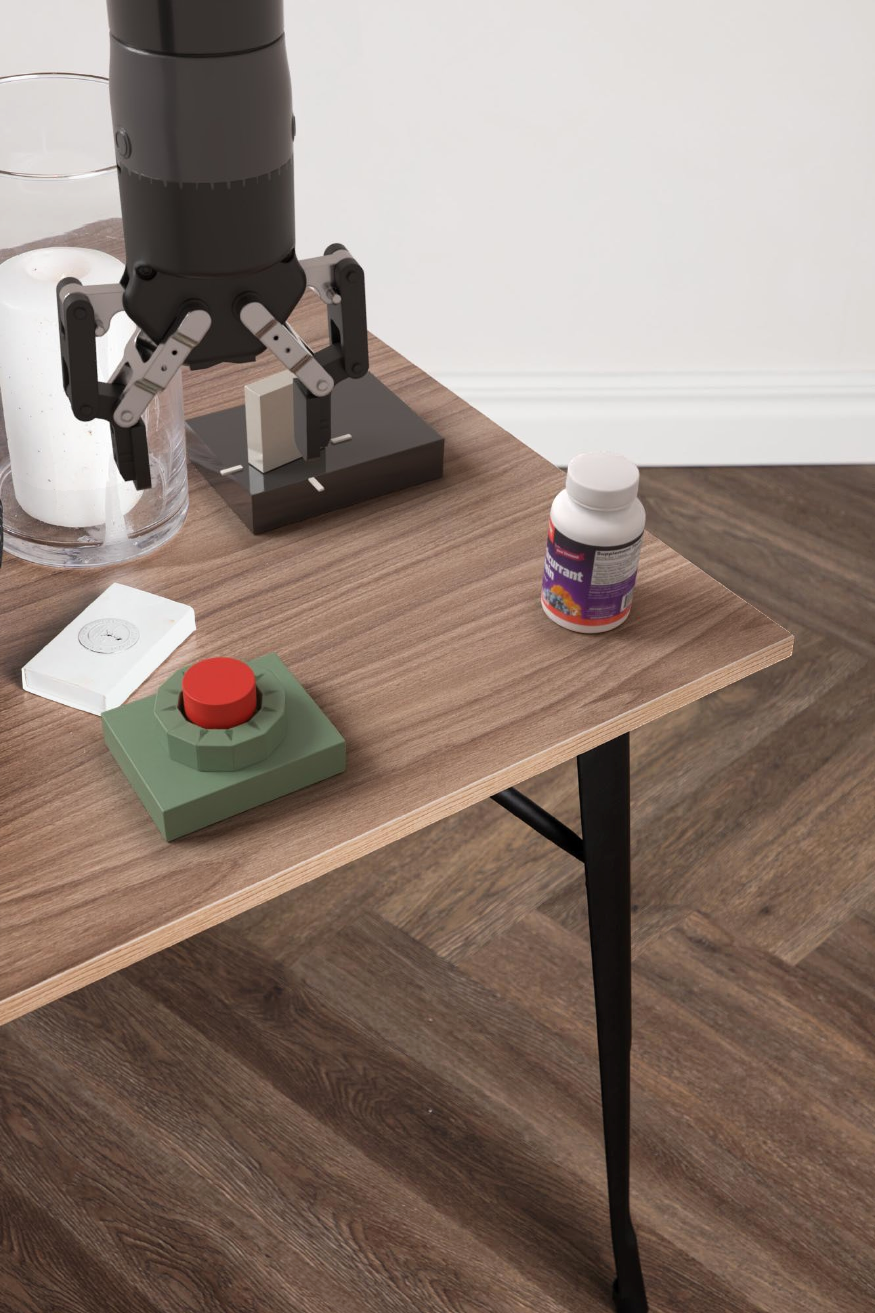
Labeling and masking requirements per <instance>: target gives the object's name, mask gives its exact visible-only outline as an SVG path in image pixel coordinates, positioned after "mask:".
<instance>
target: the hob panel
mask: <svg viewBox="0 0 875 1313" xmlns="http://www.w3.org/2000/svg"><path fill="white" fill-rule="evenodd" d="M184 430H185V441H186V452H187V459H188V460H189V461H190V463H191V464H192V465H193V466H194V468H195V469H196V470H197V471H198V472H199V473H200V474H201V476H202V477H203V478H204V479H205V480H206V481H207V483H208V484H209V485H210V486H211V487H212V488H213V490H214V491H215V492H216V493H217V494H218V495H219V497H220V498H221V499H222V500H223V501H224V502H225V503H226V505H227V506H228V507H229V508H230V509H231V510H232V511H233V513H234V514H235V515H236V516H237V517H238V518H239V519H240V521H241V522H242V524H244V526H246V528H247V529H248V530H249V531H250V532H251V533H252V534H253V536H254V535H258V534H261V533H262V534H263V533H265V532H267V531H270V530H274V529H278V528H280V527H284V526H287V525H290V524H294V523H296V522H300V521H303V520H307V519H309V518H313V517H317V516H320V515H323V514H325V513H329V512H333V511H335V510H339V509H342V508H346V507H348V506H352V505H355V504H358V503H361V502H365V501H368V500H372V499H374V498H377V497H381V496H384V495H387V494H388V495H389V494H390V493H394V492H396V491H400V490H404V489H407V488H410V487H413V486H417V485H420V484H422V483H426V482H430V481H432V480H436V479H439V478H443V477H444V461H445V445H446V444H445V442H446V438H445V437H444V436H443V435H442V434H441V433H440V432H439V431H437V429H435V428H434V427H433V426H431V424H430V423H429V422H427V421H426V420H425V419H424V417H421V416H420V415H419V414H418V413H417V412H416V411H415V410H413V408H412V407H410V406H409V405H408V404H407V403H406V402H405V401H404V400H403V399H402V398H400V397H399V396H398V395H397V394H396V393H395V392H394V391H393V390H392V389H391V388H389V387H388V386H387V385H386V384H384V382H382V381H381V380H380V379H379V378H378V377H376V375H375V374H373V373H372V371H369V370H368V372H367V373H366V374H365V375H364V376H363V377H362V378H359V379H352V378H350V377H349V378H347V379H345V380H343V381H341V382H339V383H338V384H336V385H335V387H334V388H333V390H332V392H331V439H330V441H329V444H328V446H327V447H323V448H321V449H320V459H315V460H309V461H305V460H304V458H303V456H302V457H300V458H298V459H295V460H293V461H291V462H288V463H286V464H284V465H281V466H279V467H277V468H274V469H272V470H270V471H267V472H265V473H263V472H261V471H260V470H258V469H257V468H256V467H254V466H253V465H251V464H250V463H249V462H248V444H247V426H246V408H245V403H244V404H240V405H236V406H232V407H229V408H225V409H221V410H218V411H214V412H209V413H206V414H202V415H199V416H195V417H191V418H188V419H184Z"/></svg>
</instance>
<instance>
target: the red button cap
mask: <svg viewBox="0 0 875 1313" xmlns="http://www.w3.org/2000/svg"><path fill="white" fill-rule="evenodd" d="M236 659H237V658H232V657H226V656H216V657H210V658H206V659H203V660H200V661H197V662H195V663H196V664H195V663H193V664H194V665H193V666H192V667H190V668H189V669H188V670H187V672H186V673H185V675H184V677H183V680H182V688H183V698H184V707H185V713H186V715H187V717H188V718H189V719H190V721H192V722H193V723H194V724H196V725H197V726H199V727H202V728H205V729H230V728H233V727H236V726H239V725H241V724H244V723H245V722H247V721H248V720H249V719H250V718H251V717H252V716H253V714H254V713H255V710H256V706H257V700H256V682H255V675H254V673H253V671H252V669H251V668H250V667H249V666H248V665H247V664H245V663H243V662H241V661H239V660H236Z"/></svg>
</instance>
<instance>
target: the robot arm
mask: <svg viewBox="0 0 875 1313" xmlns="http://www.w3.org/2000/svg"><path fill="white" fill-rule="evenodd" d="M105 5H106V14H107V23H108V24H107V25H108V29H109V32H108V33H109V34H108V36H109V63H108V64H109V66H108V67H109V68H108V91H109V92H108V93H109V104H110V105H109V107H110V115H111V125H112V135H113V143H114V154H115V163H116V172H117V174H116V175H117V182H118V183H117V184H118V194H119V200H120V201H119V204H120V211H121V212H120V213H121V221H122V232H123V241H124V251H125V266H124V270H123V273H122V275H121V276H120V280H119V281H118V282H117V283H103V284H91V285H89V284H88V285H83V283H82V281H81V280H80V279H78V278H77V277H74V276H66V277H63V278H61V279H60V280H59V281H58V283H57V284H56V287H55V293H56V306H57V308H56V309H57V324H58V334H59V335H58V336H59V349H60V363H61V364H60V365H61V376H62V389H63V392H64V393H65V396H66V397H67V399H68V401H69V403H70V408H71V411H72V414H73V416H74V418H75V419H76V420H78V421H79V422H83V423H84V422H85V423H88V422H92V421H93V420H95V419H97V420H103V421H106V422H108V423H109V424H108V425H109V430H110V441H111V447H112V456H113V461H114V464H115V465H116V467H117V470H118V473H119V474H120V476H121V478H122V480H123V481H124V483H126V482H132V483H133V485H134V488H135V491H136V492H140V491H145V490H150V489H151V490H152V488H153V487H152V486H153V485H152V484H153V483H152V475H151V466H150V465H151V464H150V454H149V444H148V437H147V436H148V435H147V428H146V427H147V426H146V423H145V422H144V420H143V417H142V416H143V414H144V413H145V411H146V410H147V408H148V407H149V405H150V404H151V402H152V401H153V400H154V398H155V397H156V395H157V394H161V393H163V392H164V391H165V390H166V389H167V388H168V386H169V384H170V383H171V382H172V380H173V378H174V377H175V376H176V374H177V372H178V371H179V370H180V368H181V367H182V366H183V367H188V369H189V370H190V372H195V371H201V370H207V369H209V368H212V367H214V366H215V367H216V366H217V365H220V364H223V363H228V364H238V365H239V364H249V363H254V362H257V357H258V356H259V355H261V354H263V353H264V352H266V350H267V349H268V350H269V351H270V352H271V353H272V354H273V356H274V357H276V359H277V360H278V361H279V362H280V363H281V364H282V365H283V366H284V367H285V368H286V370H287V369H288V370H289V371H290V372H291V373H294V374H295V376H296V377H297V378H293V411H294V439H295V443H296V446H297V448H298V450H299V451H300V453H301V455H302V456H303V458H304V460H305V461H309V460H315V459H320V448H322V447H327V446H328V444H329V441H330V439H331V392H332V390H333V388H334V387H335V385H336V384H338V383H339V382H341V381H343V380H345V379H347V378H349V377H350V378H352V379H359V378H362V377H363V376H364V375H365V374H366V373H367V372H368V371H369V369H370V357H369V337H368V318H367V299H366V296H367V295H366V280H365V278H366V277H365V270H364V269H363V267H362V266H361V265H360V264H359V262H358V261H357V260H356V258H355V256H353V255H352V254H351V252H350V251H349V250H348V248H347V247H346V246H345V245H344V244H342V243H339V242H333V243H331V244H329V245H328V246H327V247H326V248H325V250H324V252H323V255H321V256H320V255H319V256H314V257H310V258H304V259H300V260H299V259H298V256H297V252H296V240H297V238H296V203H295V202H296V200H295V199H296V198H295V157H294V155H295V151H294V142H295V137H296V135H297V125H296V116H295V114H294V109H293V105H294V104H293V103H294V102H293V86H292V79H291V77H292V76H291V71H290V65H289V58H288V52H287V46H286V45H287V44H286V33H285V0H105ZM308 287H309V288H313V290H314V292H315V295H317V296H318V298H319V299H320V301H321V302H322V303H323V304H325V305H326V314H327V328H328V341H329V342H328V343H329V345H328V346H326V347H323V348H321V349H320V350H318V351H316V352H315V351H314V350H313V349H312V348H311V347H310V346H309V345H308V344H307V343H306V342H305V340H304V339H302V337H300V335H299V334H298V333H297V332H296V331H295V329H294V328H293V327H292V326H291V325H290V323H289V322H288V320H289V317H290V316H291V314H293V312H294V310H295V309H296V307H297V306H298V304H299V302H300V301H301V299H302V298H303V296H304V295H305V293H306V290H307V288H308ZM121 312H125V314H126V316H127V317H128V318H129V319H130V320H131V321H132V322H133V324H135V325H136V326H137V327H136V329H135V330H134V332H133V333H132V334H131V336H130V338H129V340H128V341H127V343H126V344H125V347H124V349H123V356H122V358H121V360H120V362H119V363H118V365H117V366H116V368H115V369H114V371H113V372H112V374H111V375H110V377H109V378H108V380H107V382H104V381H99V373H98V371H99V370H98V356H97V354H98V353H97V338H101V337H104V336H105V335H106V334H107V333H108V331H109V330H110V328H111V321H112V319H113V318H114V317H115V315H117V314H118V313H121Z"/></svg>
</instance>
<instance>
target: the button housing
mask: <svg viewBox="0 0 875 1313" xmlns="http://www.w3.org/2000/svg"><path fill="white" fill-rule="evenodd" d="M235 659H236V660H239V661H241V662H243V663H245V664H247V665H248V666H249V667H250V668H251V669H252V671H253V673H254V675H255V682H256V700H257V706H256V710H255V713H254V714H253V716H252V717H251V718H250V719H249V720H248V721H247V722H245V723H244V724H241V725H239V726H236V727H233V728H230V729H205V728H202V727H199V726H197V725H196V724H194V723H193V722H192V721H190V719H189V718H188V717H187V715H186V713H185V707H184V698H183V688H182V680H183V677H184V675H185V673H186V672H187V670H188V669H189V668H190V667H192V666H193V665H194V664H196V663H197V662H195V663H192V664H189V665H186V666H183V667H181V668H178V669H177V670H176V671H175V672H173V673H172V674H171V675H170V677H168V678H167V679H166V680H165V681H164V682H163V683H162V684H161V685H160V686H158V687H157V690H156V692H155V693H154V694H151V695H148V696H145V697H142V698H139V699H136V700H134V701H131V702H128V703H125V704H122V705H120V706H117V707H114V708H111V709H108V710H105V711H102V712H100V718H101V725H102V732H103V738H104V743H105V745H106V747H107V749H108V750H109V752H110V753H111V755H112V757H113V758H114V759H115V762H116V763H117V764H118V766H119V768H120V769H121V771H122V773H123V775H124V776H125V778H126V779H127V781H128V783H129V784H130V786H131V788H132V789H133V790H134V792H135V794H136V795H137V797H138V799H139V801H140V802H141V804H142V805H143V806H144V808H145V811H147V813H148V815H149V816H150V818H151V819H152V821H153V823H154V824H155V826H156V828H157V829H158V831H159V832H160V834H161V835H162V837H163V839H164V840H165V842H166V843H169V842H171V841H174V840H176V839H179V838H181V837H184V836H186V835H188V834H192V833H194V832H197V831H198V830H201V829H204V828H206V827H209V826H211V825H214V824H216V823H218V822H221V821H225V820H226V819H229V818H232V817H234V816H236V815H239V814H241V813H244V812H246V811H249V810H252V809H254V808H257V807H259V806H262V805H264V804H266V803H269V802H272V801H274V800H276V799H279V798H281V797H284V796H286V795H289V794H291V793H294V792H296V791H299V790H302V789H305V788H306V787H309V786H312V785H314V784H316V783H319V782H321V781H324V780H326V779H329V778H331V777H334V776H337V775H339V774H342V773H344V772H346V770H347V742H346V741H347V740H346V739H345V738H344V737H343V736H342V734H341V733H340V732H339V731H338V729H337V727H335V726H334V724H333V723H332V722H331V720H330V719H329V718H328V717H327V715H326V714H325V713H324V711H323V710H322V709H321V707H319V706H318V704H317V702H315V700H314V699H313V698H312V696H311V695H310V694H309V693H308V692H307V690H306V689H305V688H304V687H303V685H302V684H301V683H300V682H299V680H298V679H297V677H296V676H294V674H293V673H292V672H291V670H290V669H289V668H288V667H287V666H286V664H285V663H284V661H283V660H282V659H281V658H280V656H279V655H278V654H277V653H276V652H275V651H273V652H271V653H268V654H265V655H261V656H258V657H256V658H253V659H250V660H247V659H242V658H235Z"/></svg>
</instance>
